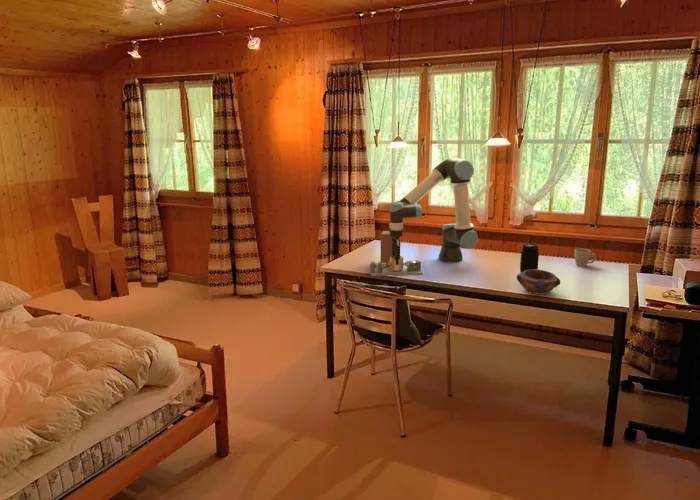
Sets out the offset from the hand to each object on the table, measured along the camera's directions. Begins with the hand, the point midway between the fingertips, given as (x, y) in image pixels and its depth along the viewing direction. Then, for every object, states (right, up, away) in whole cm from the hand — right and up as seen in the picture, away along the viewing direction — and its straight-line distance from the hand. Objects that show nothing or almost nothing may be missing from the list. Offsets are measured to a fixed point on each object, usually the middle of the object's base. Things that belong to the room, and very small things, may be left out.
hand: (395, 268), depth 303 cm
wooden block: (-2, +2, +20) cm, 20 cm away
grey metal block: (+10, -2, +3) cm, 11 cm away
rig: (0, -3, +1) cm, 3 cm away
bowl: (+69, -11, -36) cm, 79 cm away
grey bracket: (-10, -3, +1) cm, 11 cm away
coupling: (0, -1, 0) cm, 1 cm away
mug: (+115, +1, +12) cm, 116 cm away
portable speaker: (+73, -5, -12) cm, 74 cm away
